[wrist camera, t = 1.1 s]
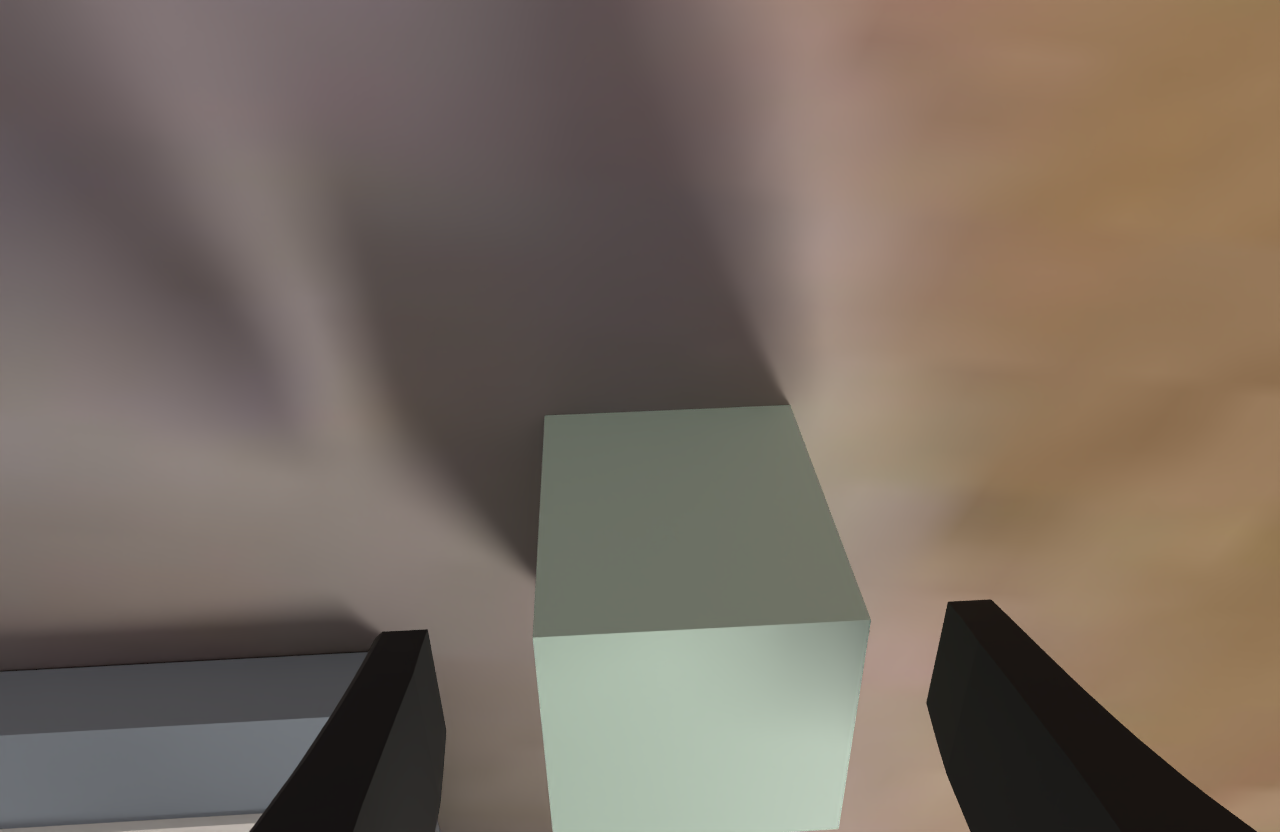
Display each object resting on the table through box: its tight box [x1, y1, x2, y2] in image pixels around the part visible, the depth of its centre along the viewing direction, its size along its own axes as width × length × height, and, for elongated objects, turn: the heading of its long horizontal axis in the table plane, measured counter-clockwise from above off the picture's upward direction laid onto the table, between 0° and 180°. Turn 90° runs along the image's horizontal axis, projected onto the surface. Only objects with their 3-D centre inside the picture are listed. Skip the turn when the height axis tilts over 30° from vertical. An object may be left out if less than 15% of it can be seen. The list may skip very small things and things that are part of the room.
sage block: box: [533, 405, 871, 832], centre depth 14 cm, size 4×4×5 cm
